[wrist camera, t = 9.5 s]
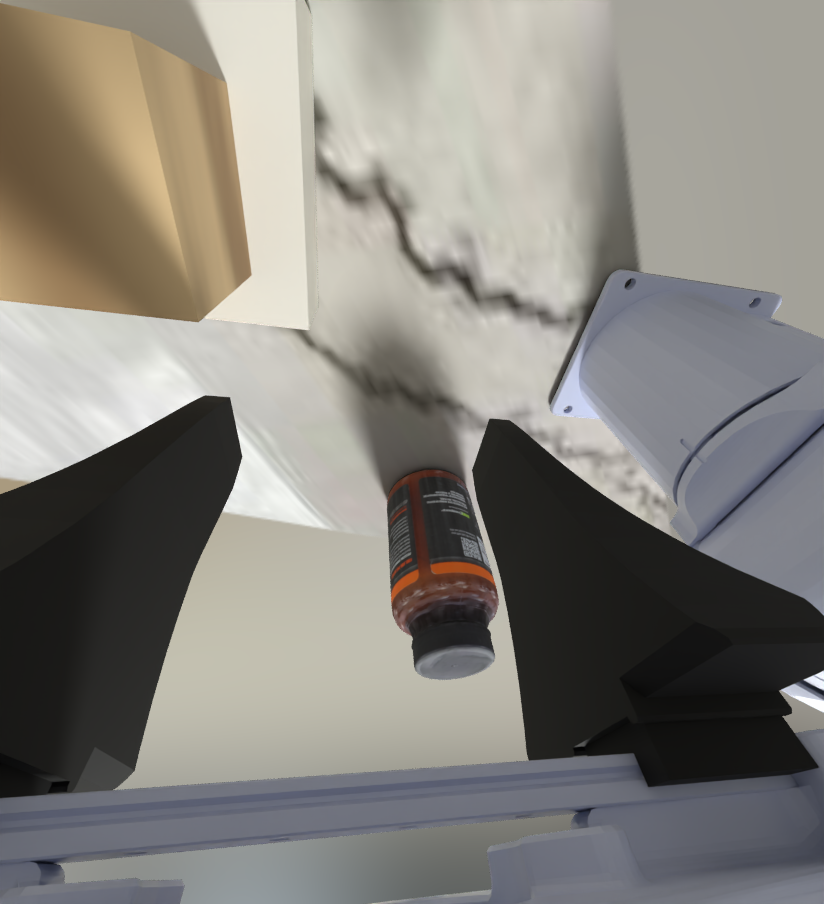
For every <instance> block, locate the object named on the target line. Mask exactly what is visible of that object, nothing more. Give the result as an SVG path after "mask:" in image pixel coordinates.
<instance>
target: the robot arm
mask: <svg viewBox="0 0 824 904" xmlns="http://www.w3.org/2000/svg"><path fill="white" fill-rule="evenodd" d="M630 278H631V283H630V284H629V286H627V287H626V288H625V287H624V286H625V283H626V282H627V280H629V279H630ZM753 299H754V300H753ZM752 300H753V302H752V303H751V304H750V302H751V301H752ZM781 302H782V297H781V296H780V295H778V294H775V293H769V292H763V291H757V290H750V289H744V288H737V287H731V286H725V285H718V284H712V283H706V282H699V281H693V280H687V279H680V278H674V277H667V276H661V275H655V274H648V273H642V272H636V271H629V270H623V269H621V270H617V271H615V272H613V273H612V274H611V275H610V276H609V278H608V279H607V282H606V284H605V286H604V288H603V290H602V293H601V295H600V297H599V299H598V301H597V304H596V306H595V308H594V310H593V312H592V315H591V317H590V319H589V321H588V323H587V326H586V328H585V330H584V332H583V334H582V337H581V339H580V341H579V343H578V345H577V348H576V350H575V352H574V354H573V356H572V359H571V361H570V363H569V365H568V367H567V370H566V372H565V374H564V376H563V378H562V381H561V383H560V385H559V387H558V389H557V392H556V394H555V396H554V398H553V400H552V403H551V405H550V410H551V412H552V413H553V414H554V415H557V416H569V417H580V418H592V419H601V420H602V421H603V422H604V423H605V425H606V426H607V427H608V428H609V429H610V430H611V431H612V433H613V434H614V435H615V436H616V437H617V438H618V439H619V441H620V442H621V443H622V444H623V445H624V446H625V447H626V449H627V450H628V451H629V452H630V453H631V454H632V455H633V457H634V458H635V459H636V460H637V461H638V462H639V464H640V465H641V466H642V467H643V468H644V469H645V470H646V472H647V473H648V474H649V475H650V476H651V477H652V478H653V480H654V481H655V482H656V483H657V484H658V485H659V486H660V488H661V489H662V490H663V491H664V492H665V493H666V494H667V496H668V497H669V498H670V499H671V500H672V501H673V502H674V504H675V505H676V506H677V507H678V510H677V512H676V514H675V516H674V517H673V519H672V520H671V521H670V524H671V526H672V527H673V528H674V529H675V530H676V532H677V533H678V534H679V535H680V537H681V538H682V539H683V540H684V542H685V543H686V544H685V543H683V542H681V541H679V540H677V539H675V538H673V537H671V536H670V535H668V534H666V533H664V532H663V531H661V530H659V529H657V528H655V527H654V526H652V525H650V524H648V523H647V522H645V521H643V520H642V519H640V518H638V517H637V516H635V515H633V514H632V513H630V512H628V511H627V510H625V509H624V508H622V507H621V506H619V505H618V504H616V503H615V502H613V501H612V500H610V499H609V498H607V497H606V496H604V495H603V494H601V493H600V492H598V491H597V490H596V489H594V488H593V487H591V486H590V485H589V484H588V483H586V482H585V481H584V480H582V479H581V478H580V477H578V476H577V475H576V474H574V473H573V472H572V471H571V470H569V469H568V468H567V467H566V466H564V465H563V464H562V463H561V462H559V461H558V460H557V459H556V458H555V457H553V456H552V455H551V454H550V453H549V452H547V451H546V450H545V449H544V448H543V447H542V446H540V445H539V444H538V443H537V442H536V441H535V440H533V439H532V438H531V437H530V436H529V435H528V434H526V433H525V432H524V431H523V430H522V429H520V428H519V427H518V426H517V425H515V424H514V423H513V422H511V421H510V420H501V419H489V422H488V425H487V428H486V431H485V434H484V437H483V440H482V443H481V446H480V449H479V452H478V455H477V458H476V461H475V463H474V466H473V469H472V472H473V479H474V486H475V491H476V497H477V501H478V505H479V508H480V511H481V514H482V518H483V521H484V524H485V527H486V530H487V534H488V537H489V540H490V543H491V546H492V549H493V553H494V556H495V559H496V562H497V566H498V569H499V573H500V577H501V581H502V586H503V591H504V596H505V601H506V606H507V611H508V617H509V622H510V628H511V634H512V640H513V646H514V652H515V659H516V666H517V673H518V680H519V687H520V694H521V703H522V712H523V720H524V728H525V739H526V749H527V755H528V759H529V761H519V762H518V761H517V762H503V763H489V764H476V765H462V766H448V767H433V768H419V769H406V770H391V771H377V772H363V773H349V774H336V775H321V776H307V777H293V778H278V779H264V780H250V781H236V782H222V783H208V784H194V785H181V786H167V787H152V788H138V789H124V790H113V789H115V788H117V787H118V786H119V785H120V784H121V783H123V782H124V781H125V780H126V779H127V778H128V777H129V776H130V775H131V774H132V773H133V772H134V771H135V766H136V763H137V759H138V754H139V750H140V746H141V742H142V739H143V735H144V731H145V727H146V723H147V720H148V716H149V711H150V708H151V704H152V700H153V697H154V693H155V690H156V687H157V683H158V680H159V676H160V673H161V670H162V666H163V663H164V659H165V656H166V652H167V649H168V646H169V643H170V640H171V637H172V634H173V631H174V627H175V624H176V621H177V618H178V615H179V612H180V609H181V606H182V603H183V600H184V597H185V594H186V592H187V589H188V586H189V583H190V580H191V577H192V575H193V572H194V570H195V568H196V565H197V563H198V561H199V558H200V556H201V554H202V552H203V550H204V548H205V546H206V544H207V541H208V539H209V537H210V535H211V533H212V531H213V529H214V527H215V525H216V523H217V521H218V518H219V517H220V514H221V512H222V510H223V508H224V506H225V504H226V502H227V500H228V497H229V495H230V493H231V491H232V489H233V486H234V483H235V480H236V477H237V473H238V470H239V466H240V463H241V459H242V453H241V448H240V443H239V439H238V434H237V429H236V424H235V419H234V415H233V410H232V405H231V400H230V397H218V396H206V395H205V396H203V397H201V398H199V399H197V400H195V401H193V402H191V403H189V404H187V405H185V406H184V407H182V408H180V409H178V410H177V411H175V412H173V413H171V414H169V415H168V416H166V417H164V418H162V419H161V420H159V421H157V422H155V423H153V424H152V425H150V426H148V427H146V428H144V429H143V430H141V431H139V432H137V433H135V434H134V435H132V436H130V437H128V438H126V439H124V440H122V441H120V442H118V443H116V444H114V445H112V446H110V447H108V448H106V449H104V450H102V451H100V452H98V453H96V454H94V455H92V456H91V457H88V458H86V459H84V460H82V461H80V462H78V463H76V464H73V465H71V466H69V467H67V468H64V469H62V470H60V471H58V472H55V473H53V474H50V475H48V476H46V477H43V478H41V479H39V480H36V481H34V482H31V483H29V484H27V485H24V486H21V487H19V488H16V489H14V490H11V491H8V492H5V493H3V494H0V904H180V901H181V897H182V894H183V890H184V883H183V881H182V880H140V879H137V878H129V879H117V880H104V881H91V882H78V883H66V884H65V882H64V877H65V875H64V870H63V869H62V867H61V866H60V865H57V864H61V863H70V862H81V861H92V860H102V859H112V858H122V857H132V856H143V855H153V854H163V853H174V852H184V851H195V850H205V849H214V848H226V847H236V846H246V845H257V844H266V843H277V842H286V841H298V840H307V839H318V838H328V837H339V836H349V835H360V834H370V833H380V832H390V831H401V830H411V829H421V828H432V827H441V826H452V825H462V824H473V823H483V822H493V821H504V820H514V819H523V818H535V817H545V816H555V815H566V814H575V815H574V817H573V819H572V821H571V830H567V831H560V832H553V833H546V834H539V835H532V836H525V837H523V838H521V839H520V840H516V841H512V842H508V843H503V844H498V845H493V846H489V849H488V851H487V856H488V862H489V868H490V875H491V881H492V888H491V890H484V891H475V892H466V893H458V894H448V895H440V896H431V897H422V898H413V899H405V900H395V901H387V902H379V903H370V904H824V729H817V730H809V731H804V732H798V733H794V732H793V730H792V729H791V728H790V726H789V725H788V724H787V722H786V721H785V720H784V718H783V717H782V716H786V715H789V714H791V713H792V708H791V707H790V706H789V704H788V703H787V701H786V700H785V699H784V697H783V696H782V695H781V693H780V692H779V690H782V691H783V692H785V693H787V694H788V695H790V696H792V697H794V698H796V699H798V700H800V701H802V702H804V703H806V704H808V705H810V706H811V707H813V708H816V709H818V710H820V711H822V712H824V339H823V338H821V337H818V336H816V335H813V334H811V333H808V332H805V331H803V330H800V329H798V328H795V327H793V326H790V325H788V324H785V323H783V322H780V321H777V320H775V319H772V318H771V316H772V315H773V314H774V313H775V311H776V310H777V309H778V307H779V306H780V304H781ZM567 406H569V408H568V409H566V410H564V409H565V407H567ZM576 813H578V814H576Z"/></svg>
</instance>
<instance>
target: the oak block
mask: <svg viewBox="0 0 824 904" xmlns="http://www.w3.org/2000/svg"><path fill="white" fill-rule="evenodd" d="M250 276H252V273H251V265H250V258H249V250H248V242H247V234H246V227H245V219H244V211H243V204H242V196H241V188H240V181H239V173H238V165H237V157H236V150H235V142H234V134H233V127H232V119H231V111H230V104H229V96H228V88H227V83H226V82H224V81H222V80H220V79H218V78H216V77H214V76H212V75H211V74H209V73H207V72H205V71H203V70H201V69H199V68H197V67H196V66H194V65H192V64H190V63H188V62H186V61H184V60H183V59H181V58H179V57H177V56H175V55H173V54H171V53H169V52H168V51H166V50H164V49H162V48H160V47H158V46H156V45H155V44H153V43H151V42H149V41H147V40H145V39H143V38H141V37H140V36H138V35H136V34H134V33H132V32H130V31H126V30H121V29H117V28H112V27H107V26H103V25H98V24H94V23H89V22H85V21H80V20H75V19H71V18H66V17H62V16H57V15H53V14H48V13H44V12H39V11H34V10H30V9H25V8H21V7H16V6H12V5H7V4H2V3H0V300H2V301H11V302H20V303H29V304H38V305H47V306H56V307H65V308H75V309H84V310H93V311H102V312H111V313H120V314H129V315H138V316H147V317H156V318H165V319H174V320H183V321H192V322H199V321H200V320H202V319H203V318H204V317H205V316H206V315H207V314H208V313H210V312H211V311H212V310H213V309H214V308H215V307H216V306H217V305H219V304H220V303H221V302H222V301H223V300H224V299H225V298H227V297H228V296H229V295H230V294H231V293H232V292H233V291H235V290H236V289H237V288H238V287H239V286H240V285H241V284H242V283H244V282H245V281H246V280H247V279H248V278H249V277H250Z"/></svg>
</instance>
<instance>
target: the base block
mask: <svg viewBox="0 0 824 904" xmlns="http://www.w3.org/2000/svg"><path fill="white" fill-rule="evenodd" d="M0 3H2V4H7V5H12V6H16V7H21V8H25V9H30V10H34V11H39V12H44V13H48V14H53V15H57V16H62V17H66V18H71V19H75V20H80V21H85V22H89V23H94V24H98V25H103V26H107V27H112V28H117V29H121V30H126V31H130V32H132V33H134V34H136V35H138V36H140V37H141V38H143V39H145V40H147V41H149V42H151V43H153V44H155V45H156V46H158V47H160V48H162V49H164V50H166V51H168V52H169V53H171V54H173V55H175V56H177V57H179V58H181V59H183V60H184V61H186V62H188V63H190V64H192V65H194V66H196V67H197V68H199V69H201V70H203V71H205V72H207V73H209V74H211V75H212V76H214V77H216V78H218V79H220V80H222V81H224V82H226V83H227V88H228V96H229V104H230V111H231V119H232V127H233V134H234V142H235V150H236V157H237V165H238V173H239V181H240V188H241V196H242V204H243V211H244V219H245V227H246V234H247V242H248V250H249V258H250V265H251V273H252V276H250V277H249V278H248V279H247V280H246V281H245V282H244V283H242V284H241V285H240V286H239V287H238V288H237V289H236V290H235V291H233V292H232V293H231V294H230V295H229V296H228V297H227V298H225V299H224V300H223V301H222V302H221V303H220V304H219V305H217V306H216V307H215V308H214V309H213V310H212V311H211V312H210V313H208V314H207V315H206V316H205V317H204V318H205V319H214V320H223V321H232V322H241V323H250V324H259V325H268V326H277V327H286V328H294V329H303V330H309V329H310V326H311V324H312V321H313V319H314V317H315V314H316V312H317V310H318V264H317V219H316V175H315V131H314V86H313V42H312V15H311V13H310V11H309V9H308V6H307V4H306V2H305V0H0Z"/></svg>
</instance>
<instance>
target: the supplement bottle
mask: <svg viewBox="0 0 824 904" xmlns="http://www.w3.org/2000/svg"><path fill="white" fill-rule="evenodd" d="M387 515H388V536H389V558H390V559H389V561H390V579H391V581H390V582H391V602H392V612H393V616H394V619H395V621H396V623H397V625H398V626H399V628H400V629H401V630H403V631H404V632H405V633H407V634H409V635H411V636H412V637H413V641H412V649H413V656H414V667H415V670H416V672H417V673H418V674H420V675H421V676H423V677H426V678H430V679H438V680H449V679H457V678H463V677H467V676H471V675H474V674H477V673H479V672H481V671H483V670H485V669H487V668H488V667H489V666H490V665H491V664H492V663H493V662H494V659H495V654H494V650H493V645H492V642H491V633H490V631H489V630H488V629H487V627H488V625H489V622H490V621H491V620H492V619H493V618H494V617H495V614H496V612H497V608H498V605H499V599H498V594H497V589H496V586H495V582H494V579H493V575H492V571H491V568H490V565H489V561H488V558H487V554H486V551H485V547H484V544H483V540H482V537H481V534H480V530H479V526H478V523H477V519H476V516H475V512H474V509H473V506H472V502H471V499H470V496H469V493H468V490H467V488H466V486H465V484H464V482H463V481H462V480H461V479H459V478H458V477H457V476H455V475H454V474H452V473H449V472H446V471H442V470H431V469H430V470H423V471H418V472H415V473H412V474H409V475H407V476H405V477H404V478H402V479H401V480H399V481H398V482H397V483H396V484H395V485H394V487H393V488H392V489H391V491H390V493H389V496H388V502H387Z"/></svg>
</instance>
